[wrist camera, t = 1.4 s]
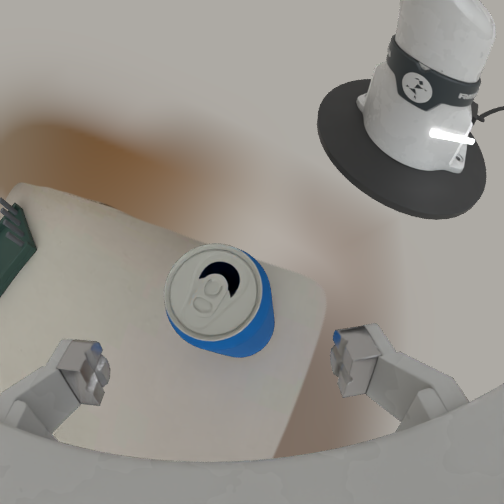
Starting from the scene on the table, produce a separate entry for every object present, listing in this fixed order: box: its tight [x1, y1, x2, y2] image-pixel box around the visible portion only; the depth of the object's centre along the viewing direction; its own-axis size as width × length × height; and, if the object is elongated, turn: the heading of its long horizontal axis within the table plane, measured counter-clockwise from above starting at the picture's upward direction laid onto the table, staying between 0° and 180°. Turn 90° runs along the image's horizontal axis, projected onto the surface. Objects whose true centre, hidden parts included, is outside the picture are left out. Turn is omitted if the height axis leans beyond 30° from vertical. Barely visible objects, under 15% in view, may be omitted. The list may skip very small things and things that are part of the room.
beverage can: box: [164, 243, 275, 358], centre depth 21 cm, size 6×6×12 cm
